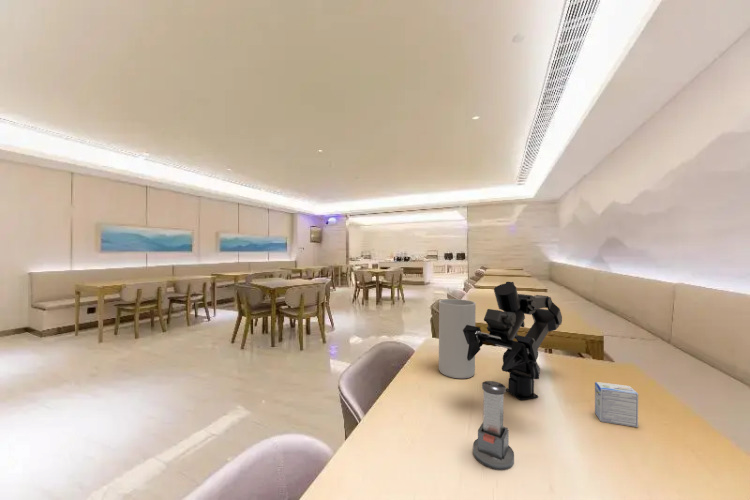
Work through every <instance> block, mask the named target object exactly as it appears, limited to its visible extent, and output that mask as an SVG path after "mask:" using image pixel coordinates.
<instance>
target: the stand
mask: <svg viewBox="0 0 750 500" xmlns="http://www.w3.org/2000/svg"><path fill="white" fill-rule="evenodd" d="M509 435H510V434H509V428H508V427H506V426H503V435H502V437H501V438H499V437H496V436H493V435H490V434H488V433H485V432H483V422H482V423H481V424H480V427H479V428H478V430H477V438H476V439H475V440H474V441H473V444H472V454H473V456H474V459H475V460H476V461H477V462H478V463H480V464H481V465H483V466H484V467H486V468H489V469H492V470H497V471H505V470H506V471H507V470H509V469H511V468H513V466H514V464H515V453H514V450H513V449H512V447H511V446H510V444H509V443H510V442H509V437H510V436H509Z"/></svg>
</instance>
